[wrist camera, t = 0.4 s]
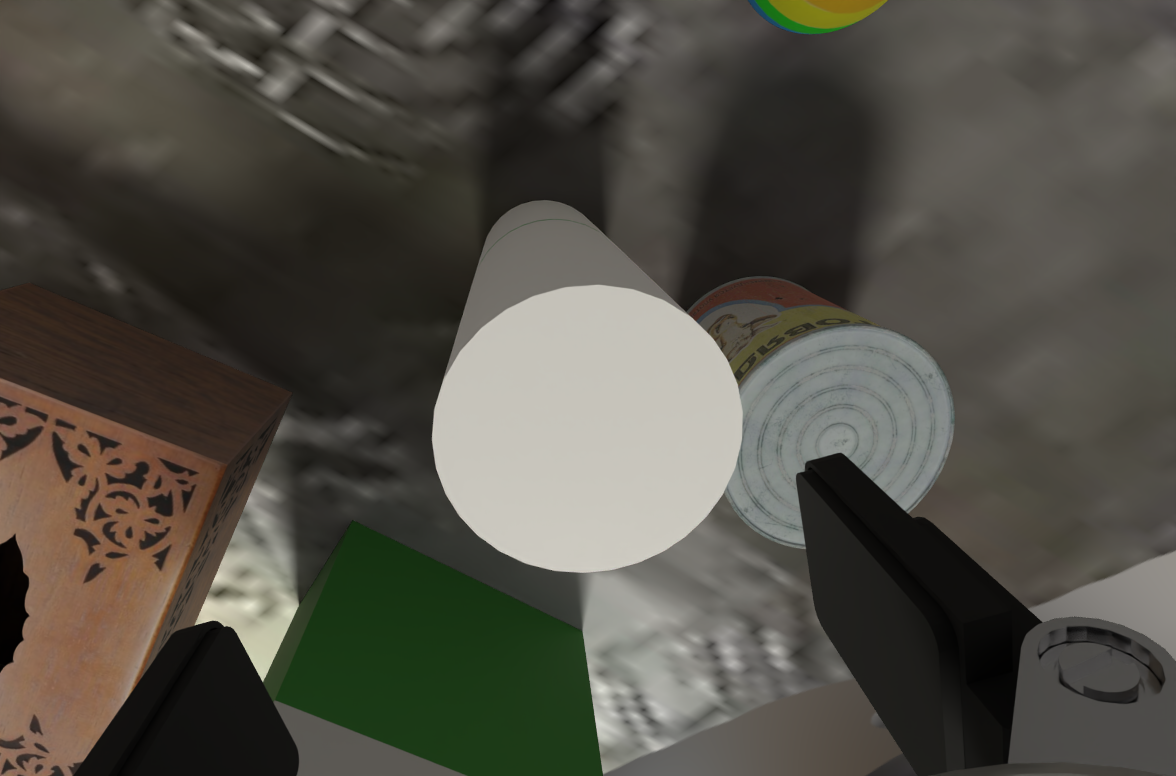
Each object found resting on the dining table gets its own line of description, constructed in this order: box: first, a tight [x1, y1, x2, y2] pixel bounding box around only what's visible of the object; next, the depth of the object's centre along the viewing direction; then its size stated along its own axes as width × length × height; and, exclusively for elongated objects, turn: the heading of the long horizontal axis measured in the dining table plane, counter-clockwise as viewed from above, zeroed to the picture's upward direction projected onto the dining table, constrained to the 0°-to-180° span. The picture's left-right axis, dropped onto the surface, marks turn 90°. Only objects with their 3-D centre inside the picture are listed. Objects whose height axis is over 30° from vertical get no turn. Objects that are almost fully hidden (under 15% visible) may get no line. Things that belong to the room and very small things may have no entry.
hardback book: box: [263, 520, 603, 776], centre depth 35 cm, size 18×7×24 cm, turn 56°
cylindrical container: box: [432, 200, 743, 573], centre depth 27 cm, size 7×7×25 cm
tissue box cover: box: [0, 283, 293, 776], centre depth 37 cm, size 26×14×10 cm, turn 152°
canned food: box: [686, 276, 955, 549], centre depth 37 cm, size 11×11×12 cm
